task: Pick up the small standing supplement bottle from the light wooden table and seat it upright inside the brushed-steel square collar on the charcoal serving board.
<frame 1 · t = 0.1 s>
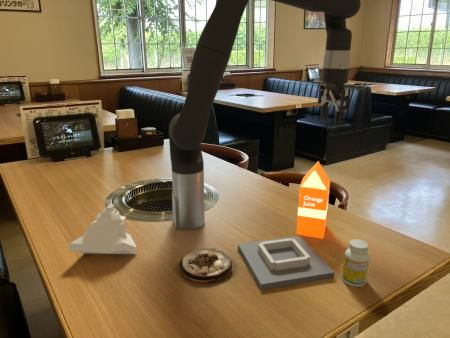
hand: (331, 121, 114), 29 cm above the table, tool pointing down, fingers open, 8 cm apart
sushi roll: (206, 270, 90), on the table
socket board: (282, 262, 92), on the table
white jagged pyramid: (109, 252, 97), on the table
supplement bottle: (353, 281, 85), on the table
orange juice: (311, 230, 109), on the table
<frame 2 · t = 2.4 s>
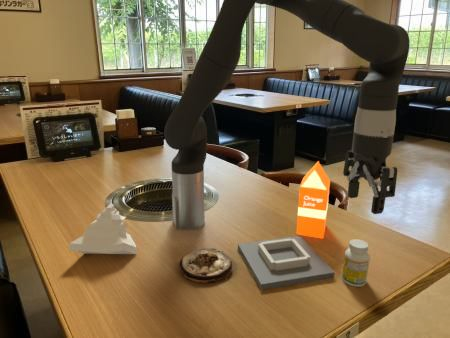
hand: (364, 204, 79), 19 cm above the table, tool pointing down, fingers open, 8 cm apart
nothing on the table moved.
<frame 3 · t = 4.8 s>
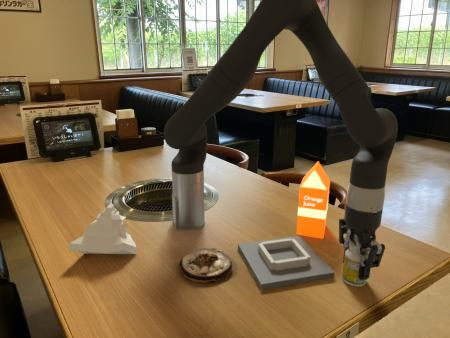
hand: (355, 271, 84), 2 cm above the table, tool pointing down, fingers closed on supplement bottle, 5 cm apart
supplement bottle: (353, 281, 85), on the table, touching gripper
everything else where it was.
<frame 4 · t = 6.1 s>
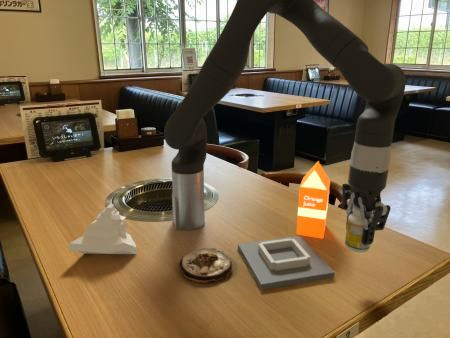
hand: (358, 236, 82), 11 cm above the table, tool pointing down, fingers closed on supplement bottle, 5 cm apart
supplement bottle: (356, 247, 82), point 9 cm above the table, touching gripper
everything else where it was.
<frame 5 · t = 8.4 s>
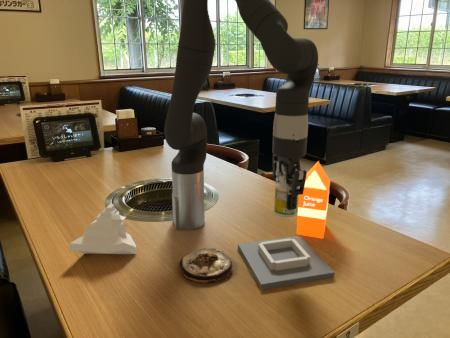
hand: (286, 203, 87), 16 cm above the table, tool pointing down, fingers closed on supplement bottle, 5 cm apart
supplement bottle: (285, 213, 88), point 13 cm above the table, touching gripper
everything else where it was.
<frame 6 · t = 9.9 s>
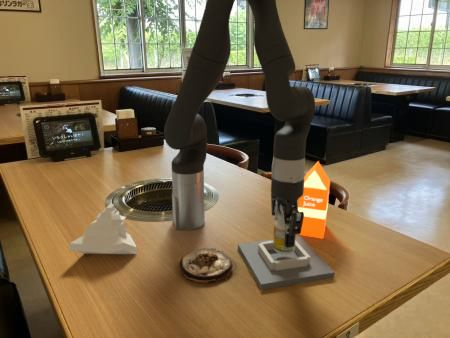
hand: (284, 240, 90), 6 cm above the table, tool pointing down, fingers closed on supplement bottle, 5 cm apart
supplement bottle: (283, 249, 91), point 4 cm above the table, touching gripper
everything else where it was.
when the fingers open (5 cm above the table, at t = 11.1 s): supplement bottle stays where it is, resting on socket board.
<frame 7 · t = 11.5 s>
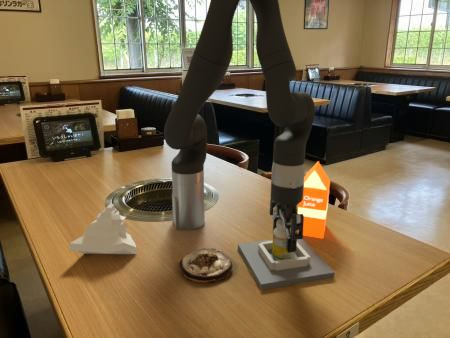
hand: (283, 242, 90), 6 cm above the table, tool pointing down, fingers open, 8 cm apart
supplement bottle: (282, 257, 92), point 1 cm above the table, touching socket board
everything else where it was.
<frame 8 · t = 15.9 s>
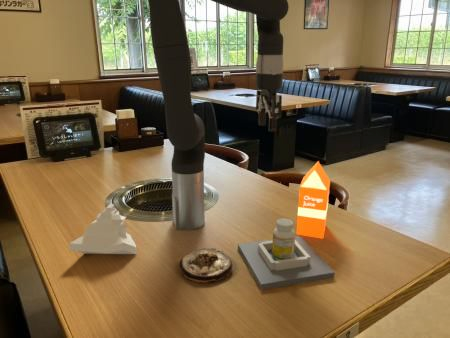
hand: (267, 128, 109), 28 cm above the table, tool pointing down, fingers open, 8 cm apart
nothing on the table moved.
at the end: supplement bottle 0.1 cm off-centre on the socket board, point 1.3 cm above the socket board's base; supplement bottle tilted 0°; the gripper is holding nothing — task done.
